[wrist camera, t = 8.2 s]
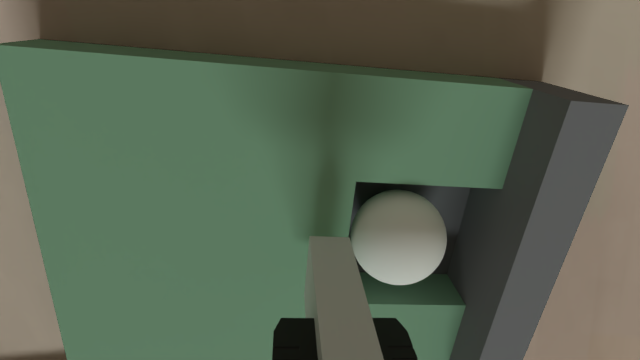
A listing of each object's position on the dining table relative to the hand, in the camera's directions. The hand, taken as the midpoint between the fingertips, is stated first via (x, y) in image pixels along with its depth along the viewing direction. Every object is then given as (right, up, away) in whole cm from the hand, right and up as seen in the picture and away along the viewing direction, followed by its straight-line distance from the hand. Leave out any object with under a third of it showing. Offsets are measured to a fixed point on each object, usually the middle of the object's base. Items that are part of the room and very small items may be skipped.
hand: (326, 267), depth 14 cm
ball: (+3, +1, +2) cm, 4 cm away
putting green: (-1, +2, +4) cm, 4 cm away
